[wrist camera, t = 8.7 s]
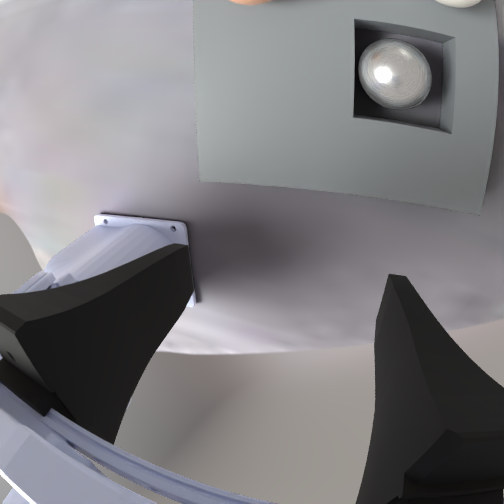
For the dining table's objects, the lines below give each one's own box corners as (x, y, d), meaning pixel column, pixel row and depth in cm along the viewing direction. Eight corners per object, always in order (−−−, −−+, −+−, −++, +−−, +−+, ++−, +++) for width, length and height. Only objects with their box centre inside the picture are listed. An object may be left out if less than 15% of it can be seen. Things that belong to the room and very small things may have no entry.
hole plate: (215, 170, 21) (199, 181, 19) (211, -47, 13) (194, -59, 11) (466, 201, 17) (479, 215, 14) (474, -29, 9) (487, -40, 7)
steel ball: (360, 101, 16) (347, 100, 13) (367, 40, 14) (355, 24, 11) (424, 117, 15) (428, 120, 12) (432, 55, 13) (438, 41, 10)
